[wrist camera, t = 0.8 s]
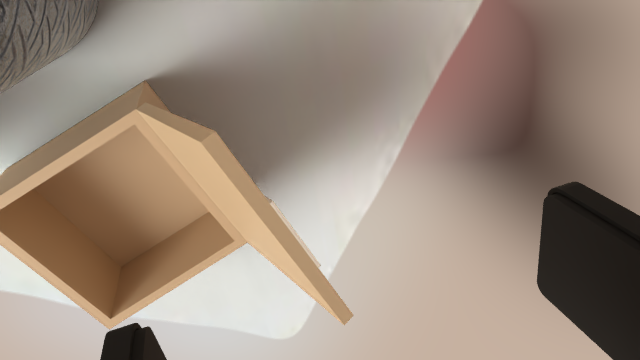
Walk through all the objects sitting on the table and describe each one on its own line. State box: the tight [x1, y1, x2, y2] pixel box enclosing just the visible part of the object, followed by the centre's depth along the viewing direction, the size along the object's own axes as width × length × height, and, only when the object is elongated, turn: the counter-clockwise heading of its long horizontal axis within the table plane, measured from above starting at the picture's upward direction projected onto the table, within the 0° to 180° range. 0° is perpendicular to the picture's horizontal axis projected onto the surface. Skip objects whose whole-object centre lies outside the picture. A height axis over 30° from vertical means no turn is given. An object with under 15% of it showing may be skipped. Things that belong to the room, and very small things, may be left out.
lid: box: [136, 102, 353, 325], centre depth 28 cm, size 14×14×1 cm
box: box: [0, 81, 247, 329], centre depth 37 cm, size 14×14×8 cm
